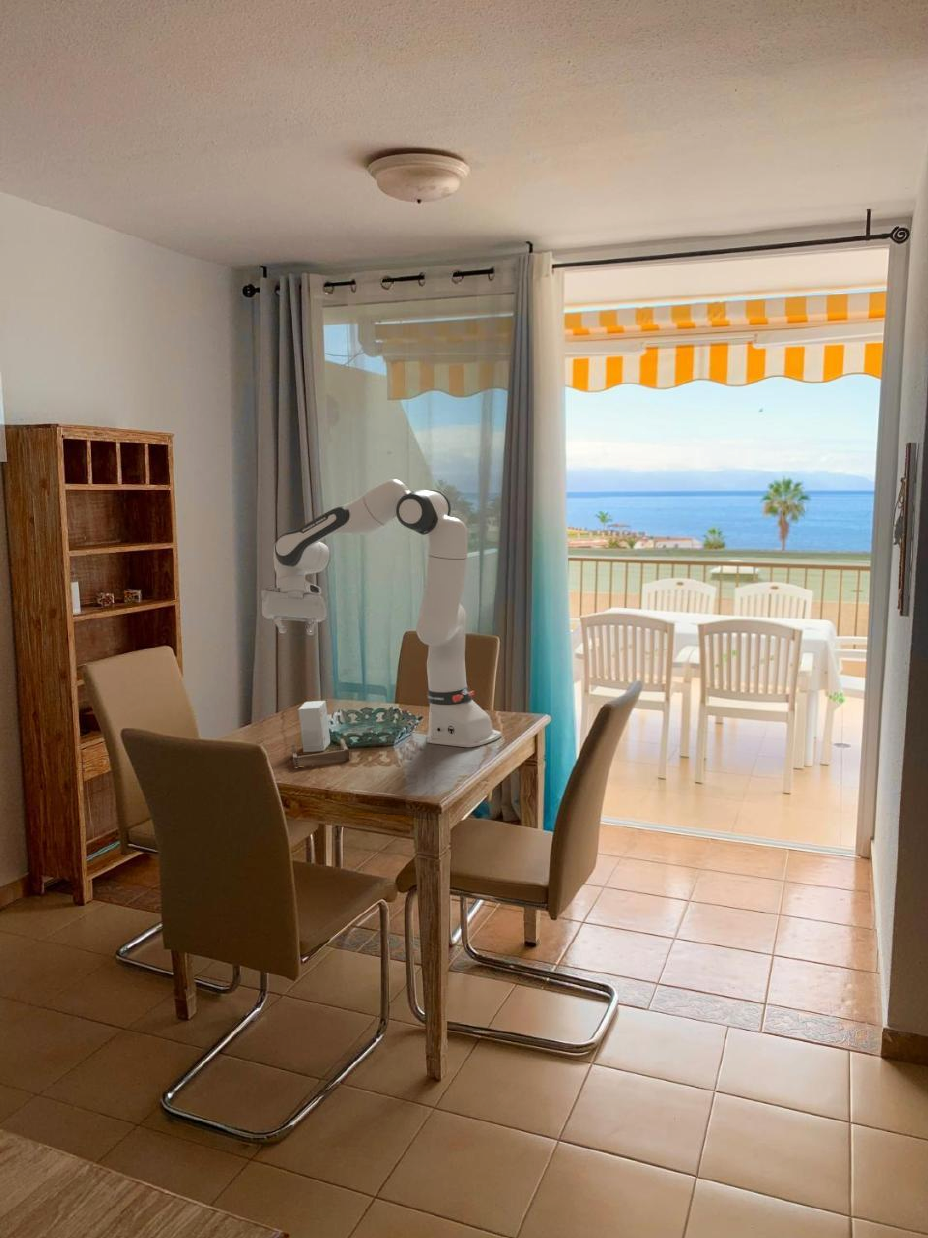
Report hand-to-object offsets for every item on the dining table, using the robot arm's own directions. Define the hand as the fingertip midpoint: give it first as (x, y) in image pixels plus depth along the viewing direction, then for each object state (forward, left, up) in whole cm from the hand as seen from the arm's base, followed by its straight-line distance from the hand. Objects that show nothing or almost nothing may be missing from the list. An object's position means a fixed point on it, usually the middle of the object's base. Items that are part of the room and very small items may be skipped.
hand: (297, 633), depth 285 cm
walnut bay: (-19, +10, -33) cm, 39 cm away
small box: (-9, +4, -33) cm, 34 cm away
